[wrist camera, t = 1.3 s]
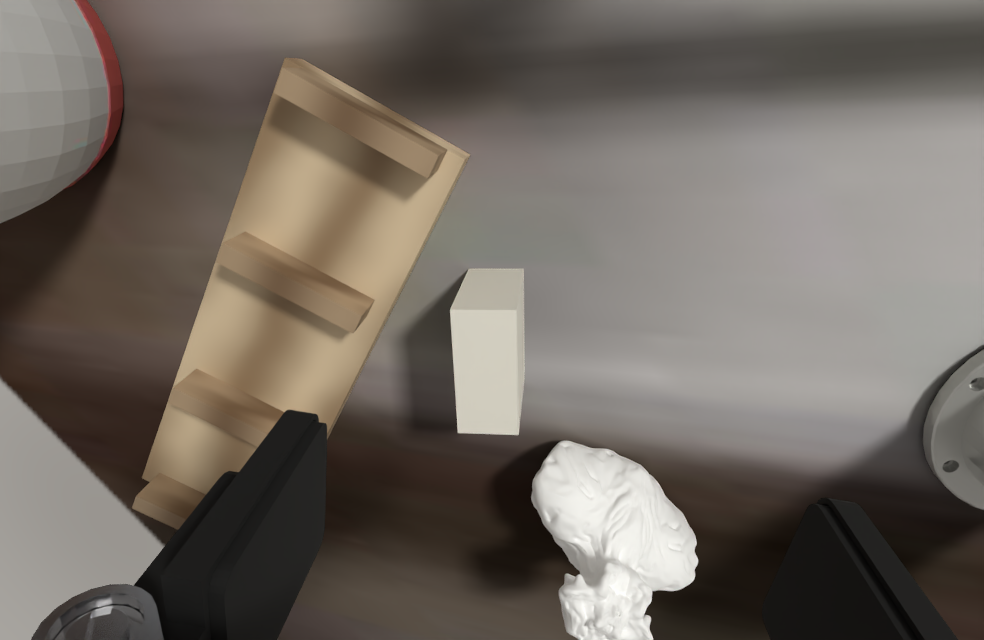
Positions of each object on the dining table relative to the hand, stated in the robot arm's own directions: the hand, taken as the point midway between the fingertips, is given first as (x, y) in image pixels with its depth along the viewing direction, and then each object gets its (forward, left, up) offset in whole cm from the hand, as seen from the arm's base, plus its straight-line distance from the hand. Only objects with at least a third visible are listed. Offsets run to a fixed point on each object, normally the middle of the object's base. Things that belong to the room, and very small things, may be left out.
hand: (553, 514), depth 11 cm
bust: (-12, +14, -23) cm, 29 cm away
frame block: (0, +7, -23) cm, 24 cm away
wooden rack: (+11, +14, -23) cm, 29 cm away
